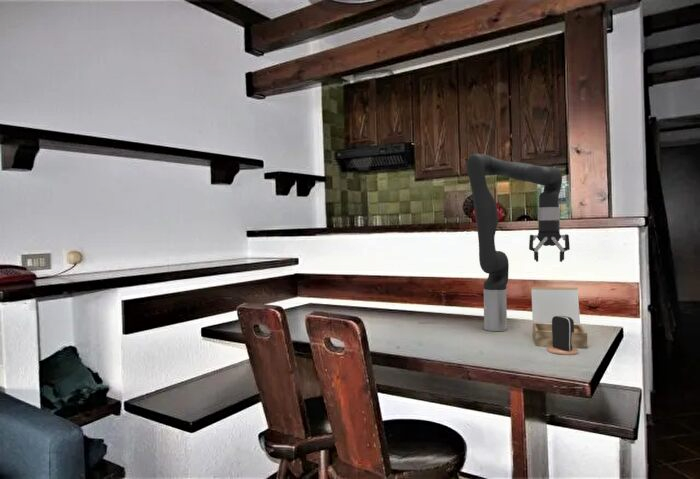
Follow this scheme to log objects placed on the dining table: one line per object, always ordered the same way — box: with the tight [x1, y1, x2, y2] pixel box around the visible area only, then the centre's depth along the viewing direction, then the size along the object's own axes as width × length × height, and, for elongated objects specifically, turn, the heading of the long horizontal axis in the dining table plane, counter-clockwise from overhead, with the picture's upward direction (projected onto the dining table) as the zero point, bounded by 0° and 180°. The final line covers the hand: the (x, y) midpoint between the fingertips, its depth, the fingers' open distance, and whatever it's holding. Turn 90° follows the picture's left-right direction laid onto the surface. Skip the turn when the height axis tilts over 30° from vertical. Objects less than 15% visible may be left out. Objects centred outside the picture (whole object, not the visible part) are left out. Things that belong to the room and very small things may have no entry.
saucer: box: [546, 346, 579, 356], centre depth 168 cm, size 10×10×1 cm
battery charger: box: [551, 316, 575, 351], centre depth 167 cm, size 7×4×11 cm, turn 27°
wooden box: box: [532, 322, 588, 349], centre depth 180 cm, size 17×14×6 cm
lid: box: [530, 286, 581, 325], centre depth 189 cm, size 17×14×1 cm
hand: (549, 261), depth 185 cm, fingers open, 8 cm apart
